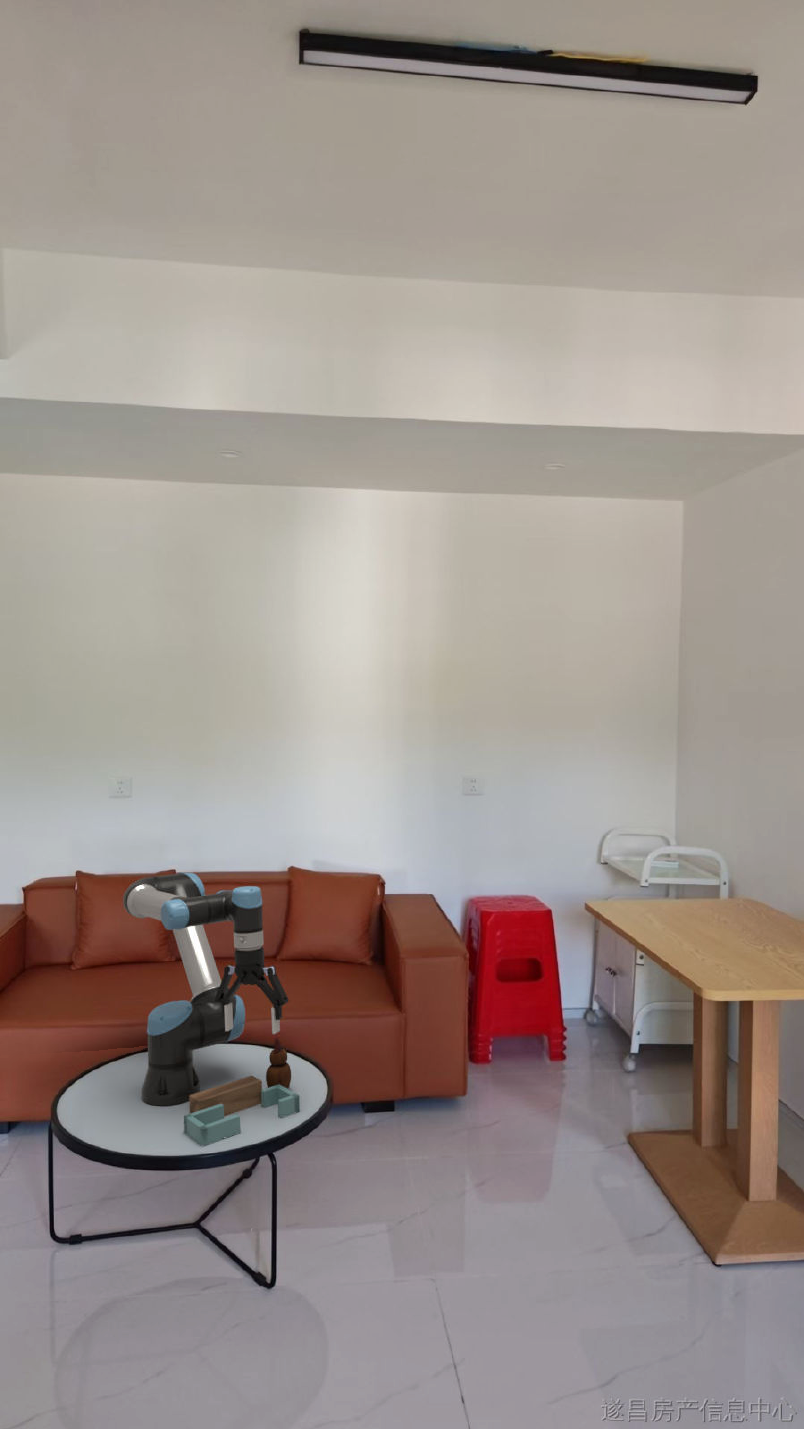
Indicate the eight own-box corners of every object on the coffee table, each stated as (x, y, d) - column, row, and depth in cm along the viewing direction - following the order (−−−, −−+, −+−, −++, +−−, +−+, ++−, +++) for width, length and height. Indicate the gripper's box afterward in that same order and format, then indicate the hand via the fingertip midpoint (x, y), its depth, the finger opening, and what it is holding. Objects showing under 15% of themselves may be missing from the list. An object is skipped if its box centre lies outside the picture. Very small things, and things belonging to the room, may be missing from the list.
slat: (189, 1119, 215) (189, 1095, 216) (252, 1098, 227) (251, 1075, 227) (199, 1126, 212) (198, 1101, 212) (262, 1104, 223) (261, 1080, 223)
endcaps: (184, 1132, 208) (183, 1115, 208) (279, 1099, 225) (279, 1084, 225) (202, 1146, 201) (202, 1129, 201) (299, 1111, 218) (299, 1095, 218)
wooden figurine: (279, 1098, 226) (278, 1041, 226) (262, 1094, 229) (261, 1037, 229) (295, 1089, 231) (294, 1033, 232) (279, 1085, 234) (277, 1030, 235)
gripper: (199, 949, 222) (202, 1032, 221) (285, 951, 214) (289, 1038, 213) (214, 943, 230) (217, 1024, 228) (298, 945, 221) (302, 1028, 220)
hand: (252, 1031), depth 221 cm, fingers open, 13 cm apart
